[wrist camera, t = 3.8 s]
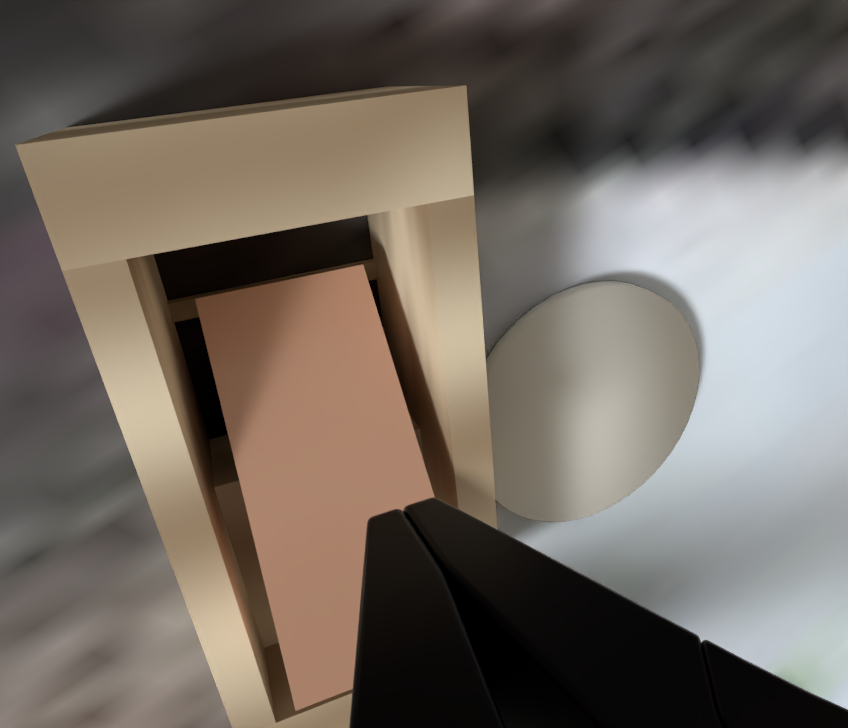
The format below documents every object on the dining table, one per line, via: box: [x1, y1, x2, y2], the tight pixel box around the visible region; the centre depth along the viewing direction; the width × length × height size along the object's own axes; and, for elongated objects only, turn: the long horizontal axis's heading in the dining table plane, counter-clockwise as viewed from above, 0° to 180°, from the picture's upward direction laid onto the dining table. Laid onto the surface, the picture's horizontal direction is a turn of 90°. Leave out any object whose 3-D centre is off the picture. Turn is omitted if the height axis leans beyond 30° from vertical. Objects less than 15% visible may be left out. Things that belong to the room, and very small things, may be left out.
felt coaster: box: [486, 281, 699, 522], centre depth 22 cm, size 9×9×1 cm
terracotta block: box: [195, 265, 435, 711], centre depth 15 cm, size 9×4×2 cm
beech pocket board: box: [15, 85, 498, 728], centre depth 16 cm, size 16×8×5 cm, turn 6°
